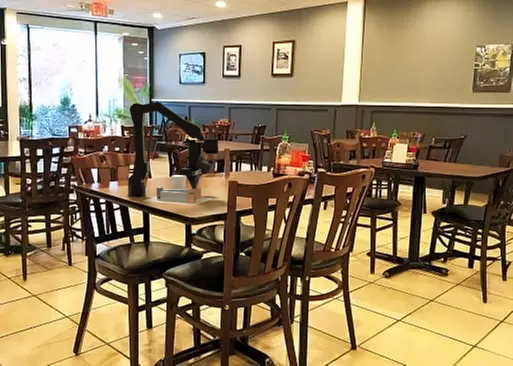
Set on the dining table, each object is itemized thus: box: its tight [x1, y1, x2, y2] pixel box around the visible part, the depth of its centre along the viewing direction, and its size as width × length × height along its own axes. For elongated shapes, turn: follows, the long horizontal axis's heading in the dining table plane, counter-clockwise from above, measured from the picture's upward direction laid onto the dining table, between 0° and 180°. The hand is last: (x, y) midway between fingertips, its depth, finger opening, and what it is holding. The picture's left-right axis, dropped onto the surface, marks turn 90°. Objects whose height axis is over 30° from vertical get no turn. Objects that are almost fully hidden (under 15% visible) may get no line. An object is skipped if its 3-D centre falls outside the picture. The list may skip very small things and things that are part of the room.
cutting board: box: [142, 196, 214, 206], centre depth 214 cm, size 24×18×1 cm
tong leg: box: [156, 186, 202, 199], centre depth 216 cm, size 18×3×4 cm, turn 101°
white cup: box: [171, 174, 187, 189], centre depth 242 cm, size 7×7×7 cm
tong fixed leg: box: [160, 191, 196, 203], centre depth 210 cm, size 15×2×4 cm, turn 71°
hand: (194, 190), depth 223 cm, fingers closed
